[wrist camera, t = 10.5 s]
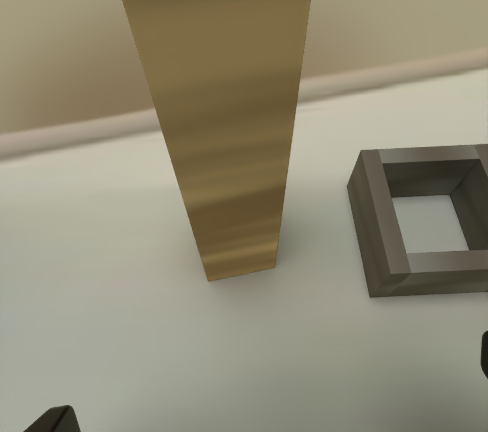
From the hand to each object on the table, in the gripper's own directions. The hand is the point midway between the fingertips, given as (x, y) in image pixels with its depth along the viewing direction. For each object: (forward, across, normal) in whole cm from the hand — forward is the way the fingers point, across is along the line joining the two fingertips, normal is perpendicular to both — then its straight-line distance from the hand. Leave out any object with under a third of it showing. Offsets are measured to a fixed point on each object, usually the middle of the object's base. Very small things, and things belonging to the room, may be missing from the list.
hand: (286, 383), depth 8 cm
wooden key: (+11, 0, +1) cm, 11 cm away
